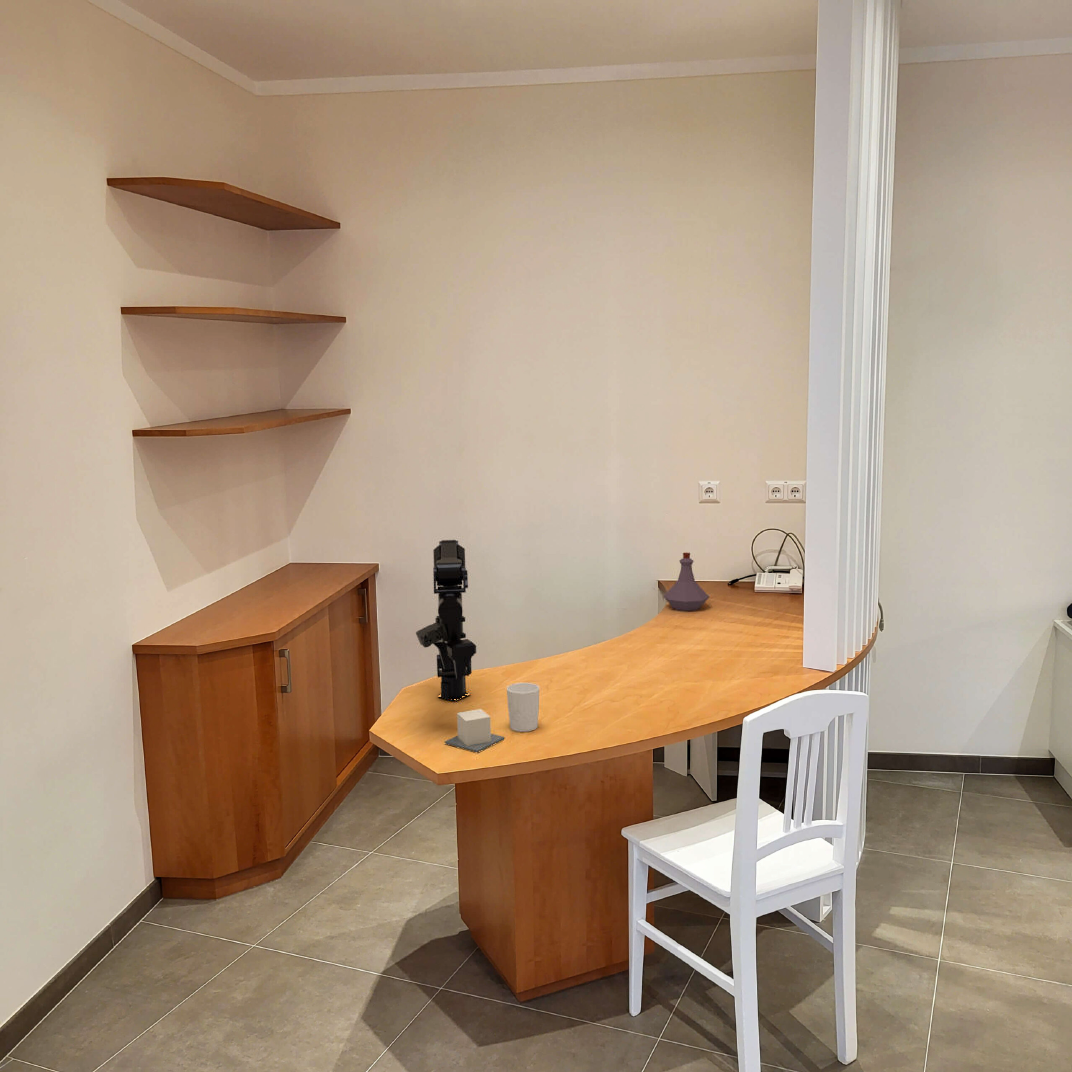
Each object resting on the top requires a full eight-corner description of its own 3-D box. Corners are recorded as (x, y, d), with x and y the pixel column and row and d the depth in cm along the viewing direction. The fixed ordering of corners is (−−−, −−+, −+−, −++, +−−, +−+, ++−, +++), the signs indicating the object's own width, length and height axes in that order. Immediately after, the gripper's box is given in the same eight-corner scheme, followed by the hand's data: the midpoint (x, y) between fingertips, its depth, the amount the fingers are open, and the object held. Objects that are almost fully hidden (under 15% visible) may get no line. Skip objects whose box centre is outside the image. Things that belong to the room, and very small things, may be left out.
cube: (457, 737, 233) (456, 712, 232) (481, 733, 236) (480, 708, 235) (466, 745, 228) (465, 720, 227) (490, 741, 230) (490, 716, 229)
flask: (709, 614, 345) (709, 557, 341) (661, 613, 348) (661, 557, 344) (709, 603, 361) (710, 549, 357) (664, 602, 364) (664, 548, 360)
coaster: (471, 731, 239) (471, 728, 238) (504, 739, 233) (504, 737, 233) (444, 744, 231) (444, 741, 231) (477, 753, 225) (477, 750, 225)
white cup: (539, 720, 245) (538, 682, 243) (540, 732, 237) (539, 692, 235) (507, 721, 244) (506, 683, 243) (507, 733, 237) (506, 693, 235)
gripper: (407, 608, 246) (410, 668, 249) (431, 625, 229) (433, 690, 232) (449, 603, 251) (451, 662, 253) (476, 619, 234) (478, 683, 236)
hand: (452, 674), depth 244 cm, fingers open, 9 cm apart
